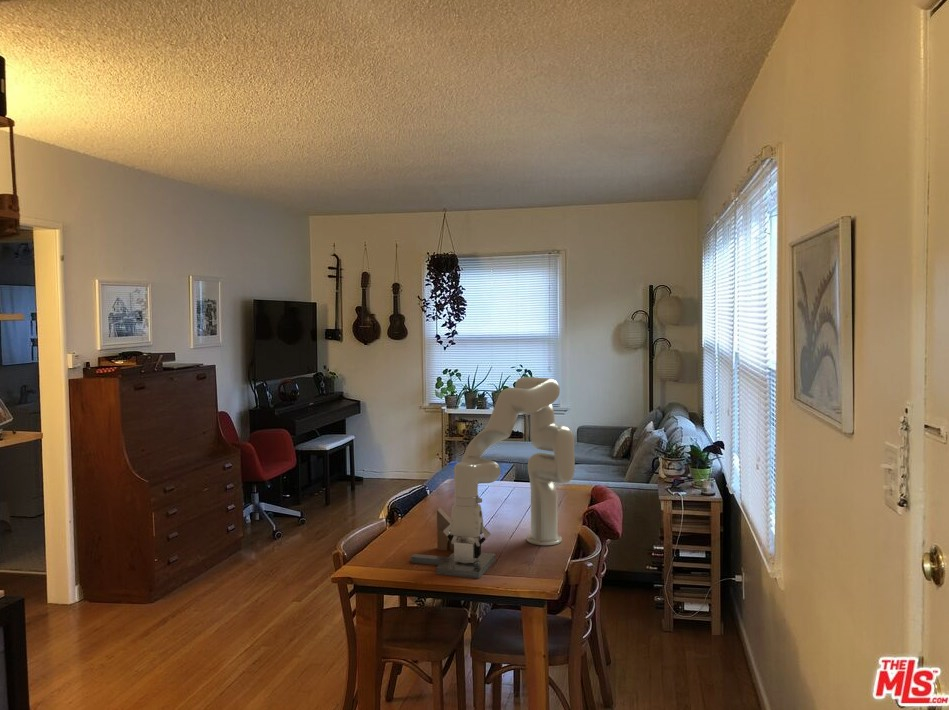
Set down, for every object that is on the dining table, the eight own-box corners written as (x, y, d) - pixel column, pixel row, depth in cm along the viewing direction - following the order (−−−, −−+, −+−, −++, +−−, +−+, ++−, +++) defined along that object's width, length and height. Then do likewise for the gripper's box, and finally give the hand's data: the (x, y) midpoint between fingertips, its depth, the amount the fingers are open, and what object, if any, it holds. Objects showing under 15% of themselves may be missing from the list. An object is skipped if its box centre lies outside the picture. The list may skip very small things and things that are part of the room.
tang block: (422, 552, 235) (422, 533, 235) (495, 559, 227) (495, 539, 227) (401, 570, 218) (401, 549, 218) (479, 578, 210) (478, 556, 210)
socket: (460, 554, 225) (460, 536, 225) (479, 556, 223) (479, 538, 223) (454, 561, 219) (453, 542, 219) (473, 562, 217) (473, 544, 217)
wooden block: (440, 547, 241) (439, 496, 241) (469, 549, 239) (469, 497, 238) (437, 550, 238) (436, 498, 237) (467, 552, 235) (466, 500, 235)
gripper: (495, 500, 221) (496, 555, 222) (445, 496, 227) (445, 550, 227) (488, 505, 214) (489, 562, 215) (436, 502, 219) (437, 557, 220)
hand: (466, 555), depth 221 cm, fingers closed on socket, 6 cm apart
